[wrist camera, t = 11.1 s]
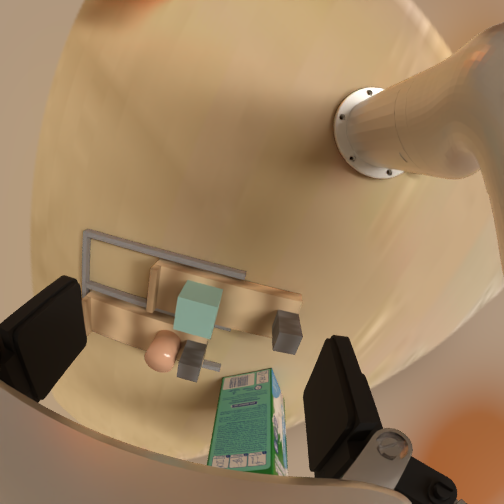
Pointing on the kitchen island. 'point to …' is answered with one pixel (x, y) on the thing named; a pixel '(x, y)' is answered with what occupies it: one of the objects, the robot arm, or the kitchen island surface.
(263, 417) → the milk carton
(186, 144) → the kitchen island surface
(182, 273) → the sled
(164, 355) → the rounded peach cylinder
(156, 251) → the lane frame
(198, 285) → the teal cube
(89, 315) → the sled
